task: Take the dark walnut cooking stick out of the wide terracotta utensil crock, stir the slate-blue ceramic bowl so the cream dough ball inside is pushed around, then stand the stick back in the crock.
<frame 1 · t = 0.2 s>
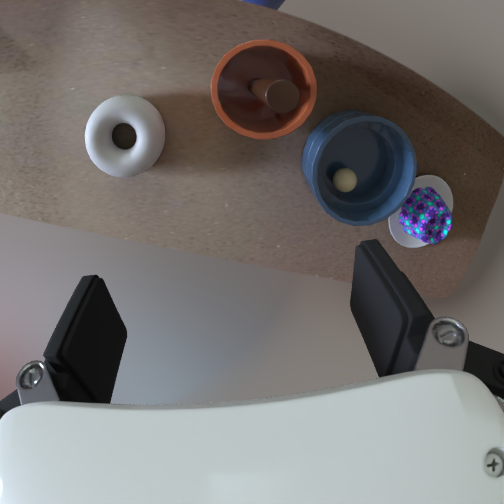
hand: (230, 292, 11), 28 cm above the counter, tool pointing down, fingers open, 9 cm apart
dough ball: (344, 180, 37), point 2 cm above the counter, touching bowl
crock: (256, 86, 32), on the counter
stick: (256, 86, 31), resting on crock
pudding: (419, 210, 42), on the counter
bowl: (351, 159, 37), on the counter
donut: (128, 133, 34), on the counter
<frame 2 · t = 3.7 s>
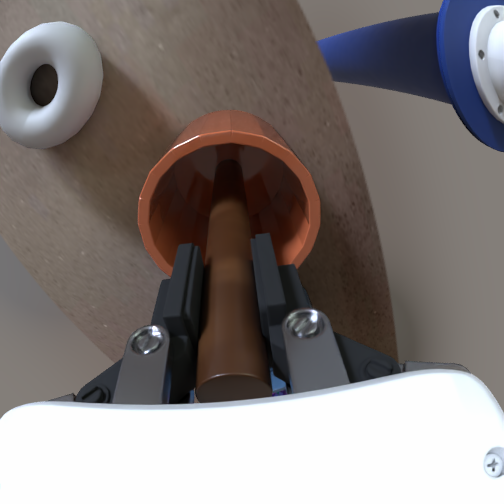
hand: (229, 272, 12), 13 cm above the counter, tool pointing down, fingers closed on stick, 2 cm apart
crock: (228, 169, 23), on the counter
stick: (228, 171, 23), point 1 cm above the counter, touching gripper
donut: (55, 83, 18), on the counter
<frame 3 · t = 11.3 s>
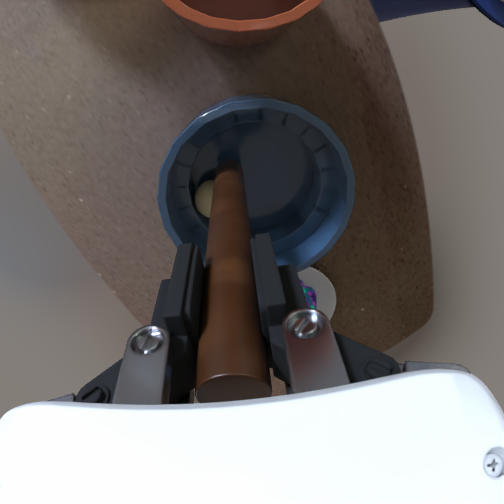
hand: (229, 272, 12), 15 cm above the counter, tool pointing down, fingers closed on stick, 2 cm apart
dough ball: (214, 198, 24), point 2 cm above the counter, tilted 41°, touching bowl, stick
stick: (229, 171, 23), point 2 cm above the counter, touching dough ball, gripper
pudding: (278, 305, 33), on the counter
bowl: (252, 174, 25), on the counter
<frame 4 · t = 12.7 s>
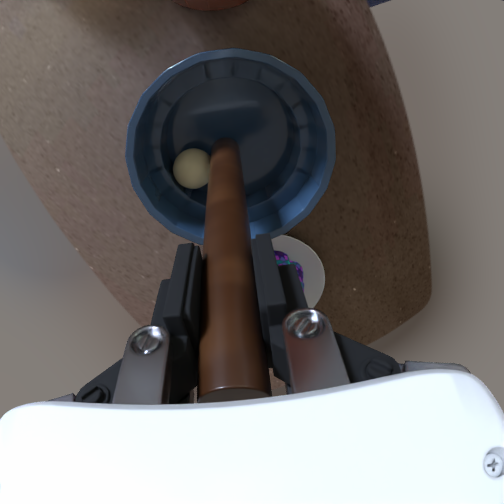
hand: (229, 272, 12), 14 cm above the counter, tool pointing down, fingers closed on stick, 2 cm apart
dough ball: (193, 168, 22), point 2 cm above the counter, tilted 40°, touching bowl
stick: (225, 150, 22), point 2 cm above the counter, tilted 7°, touching gripper
pudding: (263, 282, 31), on the counter
bowl: (230, 137, 23), on the counter
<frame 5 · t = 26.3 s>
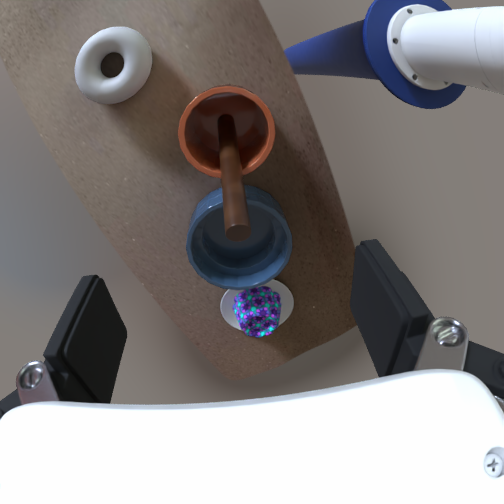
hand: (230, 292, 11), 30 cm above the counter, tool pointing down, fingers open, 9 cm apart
crock: (227, 120, 36), on the counter
stick: (225, 121, 35), point 1 cm above the counter, tilted 20°, touching crock
pudding: (256, 303, 52), on the counter
bowl: (238, 227, 44), on the counter
donut: (117, 65, 31), on the counter
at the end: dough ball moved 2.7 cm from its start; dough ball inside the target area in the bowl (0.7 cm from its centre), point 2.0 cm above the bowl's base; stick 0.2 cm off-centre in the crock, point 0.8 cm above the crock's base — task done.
